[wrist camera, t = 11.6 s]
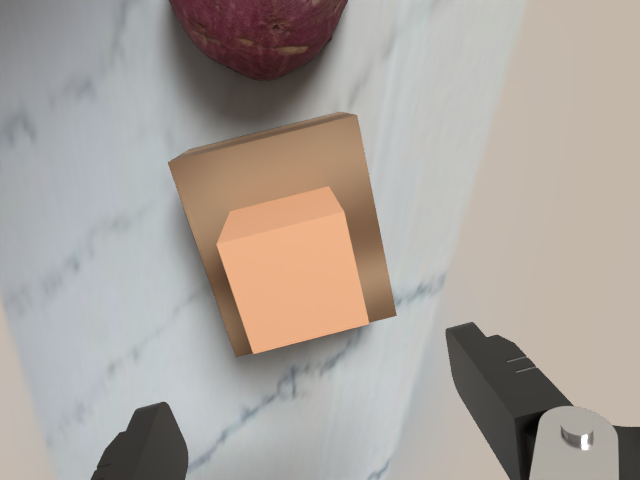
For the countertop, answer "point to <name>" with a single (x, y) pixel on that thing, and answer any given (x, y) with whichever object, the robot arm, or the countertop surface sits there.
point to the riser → (279, 182)
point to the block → (292, 269)
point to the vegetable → (259, 32)
